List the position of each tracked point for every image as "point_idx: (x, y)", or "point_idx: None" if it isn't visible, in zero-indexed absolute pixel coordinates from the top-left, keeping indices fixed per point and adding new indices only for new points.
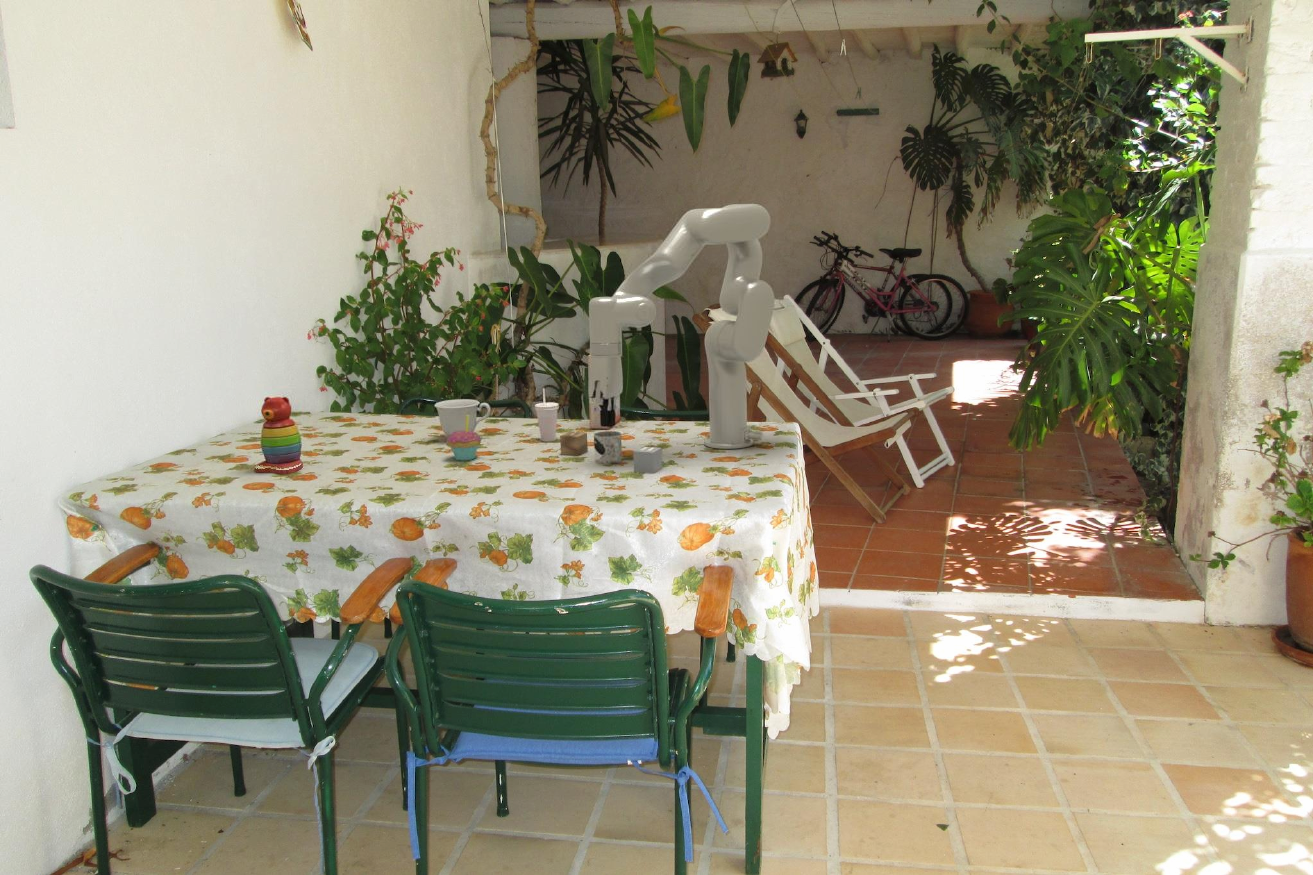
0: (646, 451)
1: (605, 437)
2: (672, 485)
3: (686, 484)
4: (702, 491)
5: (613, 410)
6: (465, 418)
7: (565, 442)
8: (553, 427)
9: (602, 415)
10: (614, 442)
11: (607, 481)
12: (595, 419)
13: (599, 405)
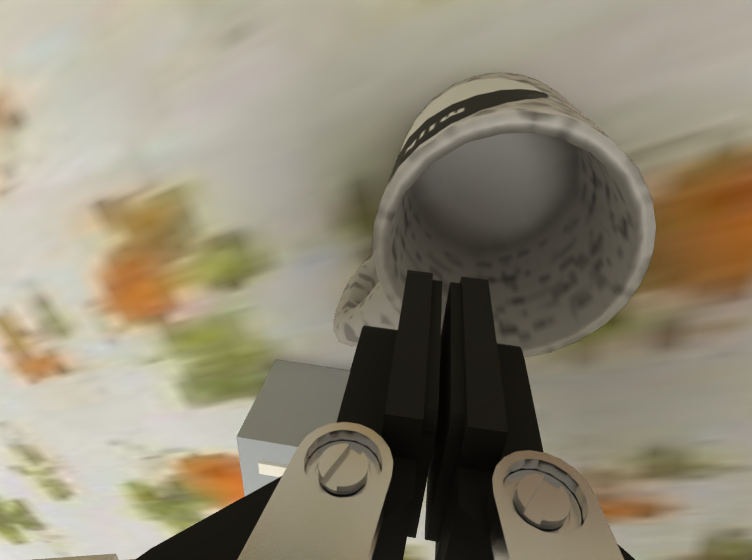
0: (255, 484)
1: (376, 269)
2: (157, 490)
3: (186, 518)
4: (141, 549)
5: (438, 545)
6: None
7: None
8: None
9: (346, 392)
10: (352, 325)
11: (84, 298)
12: None
13: (180, 539)
